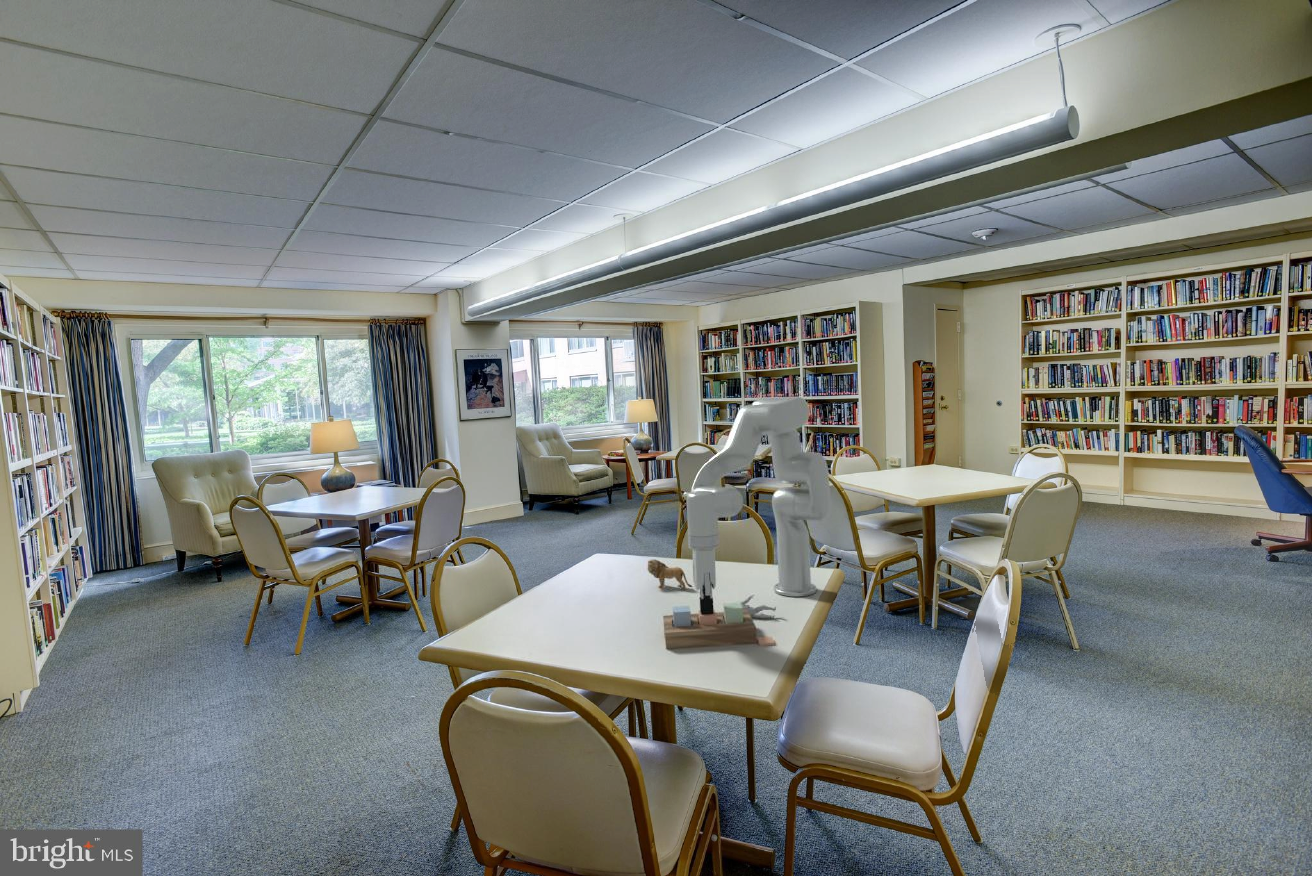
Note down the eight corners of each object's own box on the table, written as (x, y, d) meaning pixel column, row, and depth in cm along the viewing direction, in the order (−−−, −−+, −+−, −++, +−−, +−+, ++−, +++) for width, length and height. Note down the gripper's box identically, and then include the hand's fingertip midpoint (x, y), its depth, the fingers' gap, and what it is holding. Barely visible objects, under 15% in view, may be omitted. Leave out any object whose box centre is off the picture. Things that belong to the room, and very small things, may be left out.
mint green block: (724, 624, 159) (723, 603, 159) (740, 623, 159) (739, 602, 159) (726, 630, 155) (725, 609, 154) (743, 629, 155) (742, 608, 155)
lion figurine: (646, 589, 200) (644, 561, 199) (651, 584, 205) (649, 557, 204) (690, 591, 195) (688, 562, 195) (694, 585, 200) (693, 558, 200)
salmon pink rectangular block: (699, 631, 159) (698, 610, 159) (715, 630, 159) (714, 609, 159) (701, 638, 155) (699, 616, 154) (717, 637, 155) (716, 615, 155)
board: (664, 630, 163) (663, 615, 162) (747, 625, 163) (747, 610, 163) (666, 648, 151) (665, 632, 150) (756, 643, 151) (755, 626, 151)
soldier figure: (772, 627, 164) (728, 613, 165) (768, 634, 168) (725, 620, 169) (777, 600, 168) (734, 587, 170) (773, 608, 172) (731, 594, 174)
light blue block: (673, 628, 159) (672, 606, 158) (690, 627, 159) (689, 605, 158) (674, 634, 154) (673, 612, 154) (691, 633, 155) (690, 611, 154)
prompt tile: (756, 640, 153) (756, 637, 153) (771, 639, 153) (771, 636, 153) (759, 645, 149) (759, 643, 149) (774, 644, 150) (774, 642, 150)
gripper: (686, 535, 163) (689, 604, 164) (691, 548, 148) (694, 624, 149) (714, 534, 163) (718, 603, 164) (722, 547, 148) (726, 622, 149)
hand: (706, 613), depth 156 cm, fingers closed
